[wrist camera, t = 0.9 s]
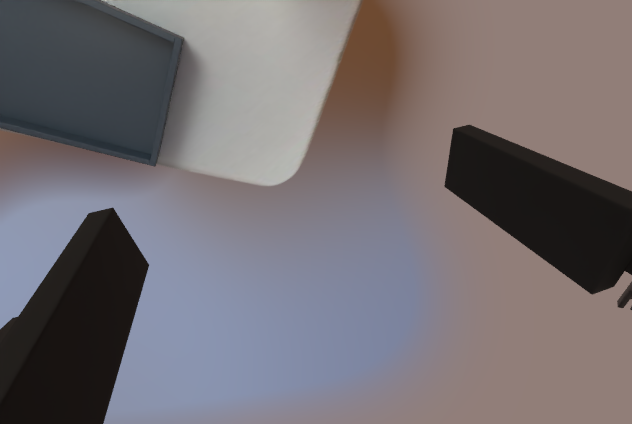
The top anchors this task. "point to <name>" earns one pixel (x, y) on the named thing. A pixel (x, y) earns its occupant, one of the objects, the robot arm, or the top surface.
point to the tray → (86, 76)
